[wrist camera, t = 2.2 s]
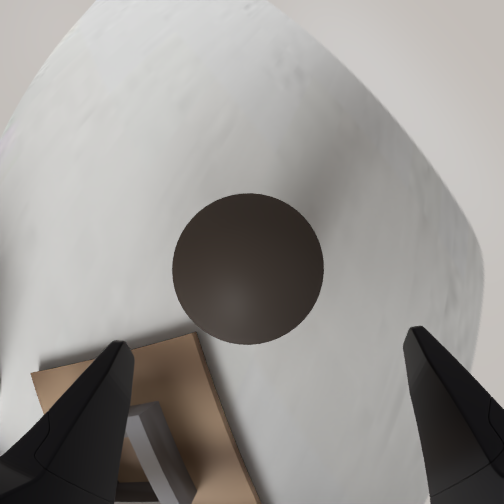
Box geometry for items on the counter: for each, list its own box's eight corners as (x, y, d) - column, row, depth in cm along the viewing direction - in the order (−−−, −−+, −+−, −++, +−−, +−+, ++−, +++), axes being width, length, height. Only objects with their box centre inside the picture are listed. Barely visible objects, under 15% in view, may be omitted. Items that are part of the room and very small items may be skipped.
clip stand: (265, 512, 17) (261, 546, 13) (104, 520, 17) (82, 542, 13) (196, 331, 19) (175, 338, 15) (38, 371, 20) (4, 378, 16)
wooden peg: (301, 307, 19) (344, 315, 6) (253, 323, 19) (197, 362, 6) (285, 259, 19) (292, 174, 6) (237, 275, 19) (157, 222, 7)
